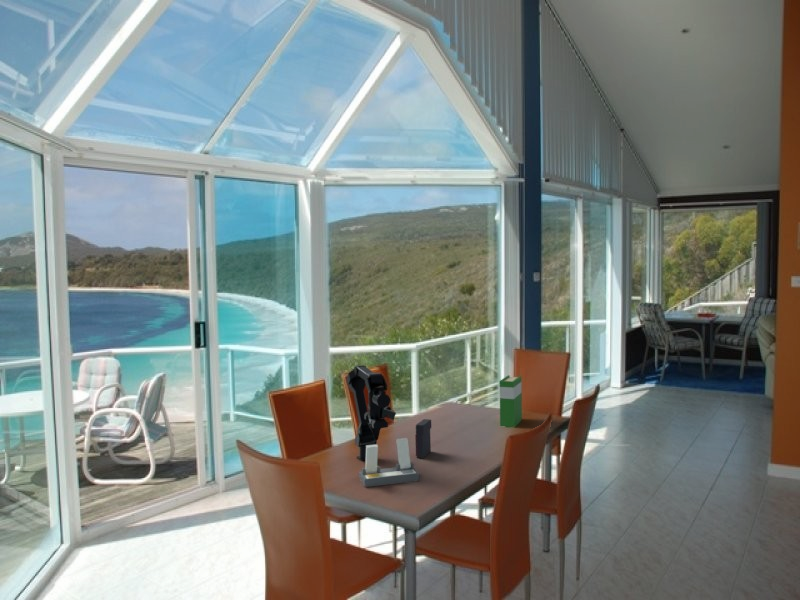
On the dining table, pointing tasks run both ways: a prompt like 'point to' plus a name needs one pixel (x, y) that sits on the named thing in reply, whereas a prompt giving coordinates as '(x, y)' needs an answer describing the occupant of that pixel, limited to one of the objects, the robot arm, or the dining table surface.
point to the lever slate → (403, 453)
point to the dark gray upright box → (423, 438)
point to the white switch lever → (371, 458)
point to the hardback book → (510, 401)
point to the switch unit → (388, 476)
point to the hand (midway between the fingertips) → (376, 439)
